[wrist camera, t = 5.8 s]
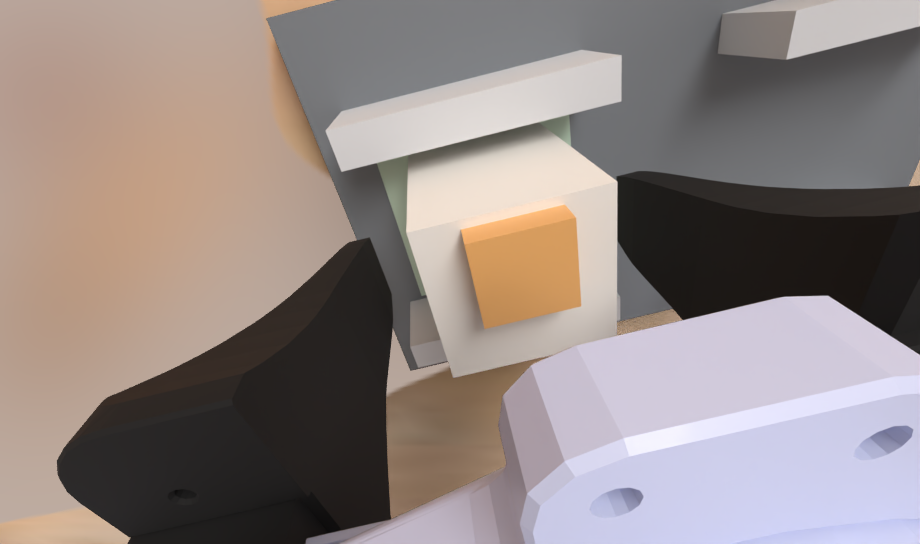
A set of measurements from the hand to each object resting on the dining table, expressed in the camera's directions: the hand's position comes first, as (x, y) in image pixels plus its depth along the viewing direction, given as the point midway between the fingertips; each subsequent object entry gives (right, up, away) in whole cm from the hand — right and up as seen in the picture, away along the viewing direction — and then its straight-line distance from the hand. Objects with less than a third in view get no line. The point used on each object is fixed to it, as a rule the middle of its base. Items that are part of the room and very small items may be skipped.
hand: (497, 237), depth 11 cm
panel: (+5, +3, +3) cm, 6 cm away
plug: (0, +1, +2) cm, 2 cm away
